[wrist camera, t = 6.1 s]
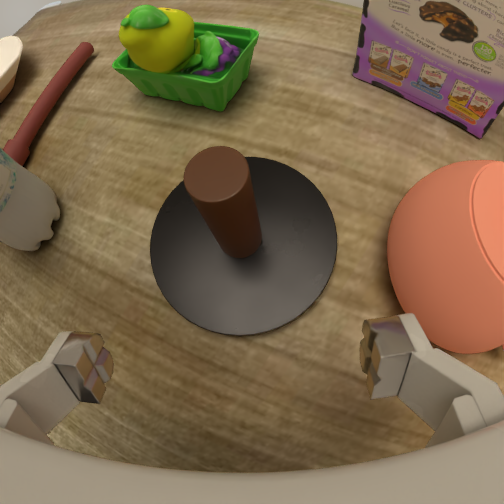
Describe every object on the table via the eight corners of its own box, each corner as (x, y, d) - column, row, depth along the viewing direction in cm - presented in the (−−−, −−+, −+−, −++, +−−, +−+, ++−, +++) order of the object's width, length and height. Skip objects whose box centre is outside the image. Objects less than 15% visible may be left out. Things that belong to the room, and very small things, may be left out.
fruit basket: (266, 71, 27) (256, -32, 16) (222, 137, 25) (188, 23, 14) (170, 54, 29) (138, -28, 18) (121, 111, 27) (68, 27, 16)
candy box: (483, 106, 24) (545, -11, 8) (480, 142, 23) (562, 13, 7) (366, 48, 27) (386, -86, 11) (349, 77, 26) (369, -81, 10)
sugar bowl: (458, 170, 22) (517, 91, 12) (538, 313, 18) (625, 285, 8) (343, 233, 21) (383, 145, 12) (436, 408, 17) (531, 435, 7)
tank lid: (162, 345, 20) (84, 336, 12) (155, 181, 24) (102, 106, 15) (350, 320, 20) (399, 296, 11) (314, 155, 23) (323, 62, 15)
